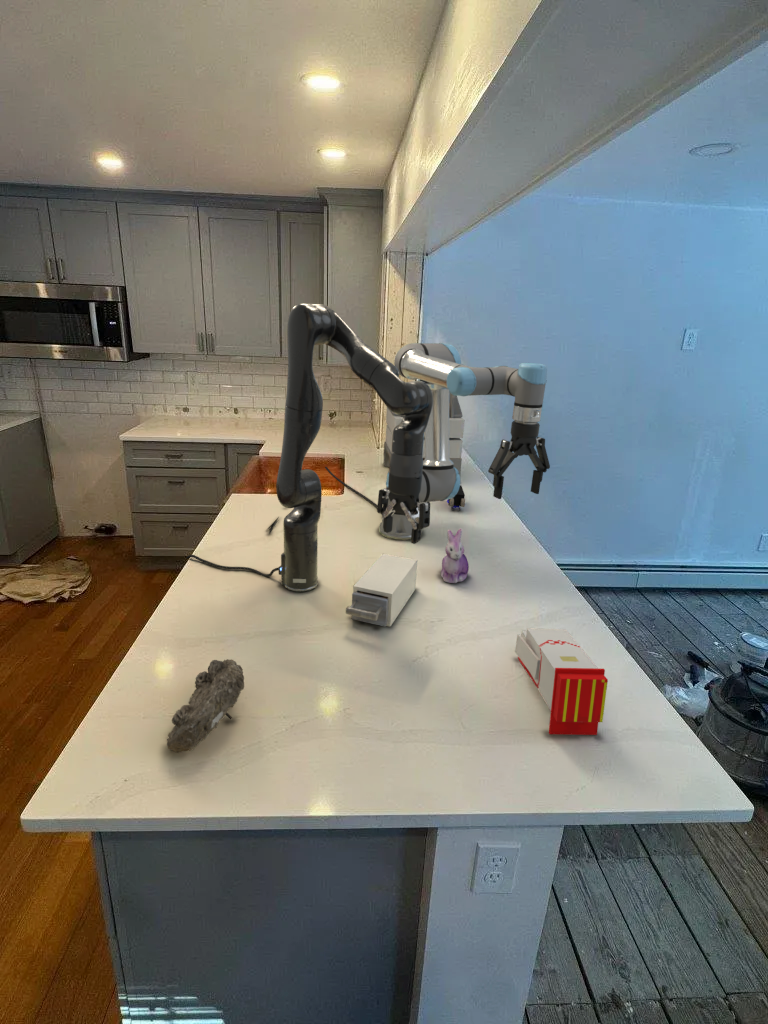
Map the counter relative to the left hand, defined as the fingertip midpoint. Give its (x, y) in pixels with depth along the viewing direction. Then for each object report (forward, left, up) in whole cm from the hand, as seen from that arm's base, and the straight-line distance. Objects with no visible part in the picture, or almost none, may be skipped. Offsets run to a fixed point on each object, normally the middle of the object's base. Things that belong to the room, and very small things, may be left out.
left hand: (401, 537), depth 134 cm
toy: (+39, -11, -24) cm, 47 cm away
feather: (-63, +51, -24) cm, 85 cm away
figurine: (+7, +33, -24) cm, 41 cm away
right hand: (+21, +40, +2) cm, 46 cm away
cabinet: (-6, +10, -24) cm, 27 cm away
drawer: (-6, +4, -23) cm, 24 cm away
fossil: (-21, -46, -24) cm, 56 cm away
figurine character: (-8, +96, -24) cm, 100 cm away
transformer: (-35, +137, -24) cm, 144 cm away
